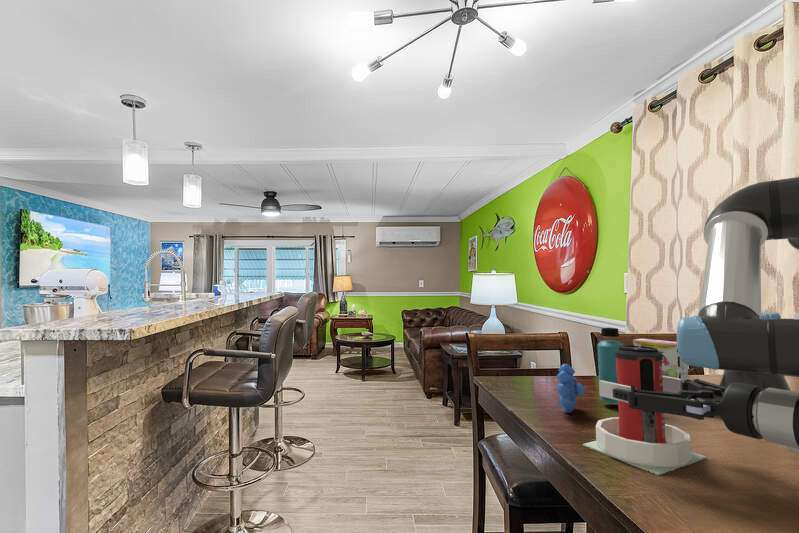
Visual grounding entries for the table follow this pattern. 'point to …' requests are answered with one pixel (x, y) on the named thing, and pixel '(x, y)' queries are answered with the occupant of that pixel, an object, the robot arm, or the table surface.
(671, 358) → the candy bar box
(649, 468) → the mat
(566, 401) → the grapes
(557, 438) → the table surface
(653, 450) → the bowl
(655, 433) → the speaker
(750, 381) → the robot arm
